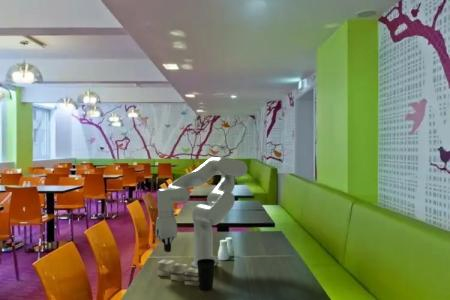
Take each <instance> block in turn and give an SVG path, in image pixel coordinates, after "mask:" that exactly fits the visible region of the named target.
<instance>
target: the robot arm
mask: <svg viewBox="0 0 450 300" xmlns="http://www.w3.org/2000/svg"><path fill="white" fill-rule="evenodd" d="M247 173H248V166H247V164H246V163H245V162H244V161H242V160H237V159H235V158H234V159H232V158H229V157H223V156H212V157H210V158H208V159H207V160H205V161H204V162H203V163H202V164H201V165H200V166H198V167H197V168H195V169H194V170H193V171H191V172H189V173H187V174H184V175H181V176H180V177H179V178H177V179H175V180H174V181H172V183H171V184H169V185H168V186H167V187H164V188H159V189H158V190H157V215H158V216H157V217H156V221H155V237H156V241H157V242H160V243H163V250H164V252H166V253H170V252H172V243H173V241H174V239H177V238H178V224H177V218H176V215H175V213H176V210H175V209H174V207H175V205H174V203H185V202H186V201H188V200H189V199H190V195H191V193H190V190H189V189H192V188H194V187H200V186H202V185H205V184H206V183H207V182H208V181H209V180H211V179H212V178H213V177H214V176H216V175H217V174H220V175H221V176H220V181H218V183H217V185H216V186H214V188H213V189H212V190H211V191H210V192H209V194H208V195H207V197H206V202H207V204H205V203H199V204H196V205H195V206H194V207H193V209H192V212H191V213H192V220H193V221H192V222H193V233H194V235H193V239H194V240H193V241H194V243H193V248H194V249H193V250H194V251H193V252H194V254H193V256H194V257H193V259H194V260H193V261H191V263H190V265H191V267H192V268H198V266H197V261H198V260H200V259H212V260H214V261H215V265H214V267H215V266H216V264H217V265H218V264H220V263H221V260H220V258H216V257H215V255H213V254H214V253H213V250H214V249H213V247H214V246H213V245H214V244H213V243H214V241H213V240H214V239H213V238H214V237H213V235H214V234H213V233H214V232H213V231H214V229H213V226H216V225H218V224H219V223H221V222H222V221H223V219H225V217H226V216H227V215H228V214H229V212H231V210H232V209H233V207H234V205H235V201H236V200H235V195H234V194H233V191H234V189H235V187H236V186H235V178H241V177H242V178H243V177H244V176H245V175H246V174H247Z"/></svg>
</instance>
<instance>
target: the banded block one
mask: <svg viewBox="0 0 450 300" xmlns="http://www.w3.org/2000/svg"><path fill="white" fill-rule="evenodd" d="M188 267H189V266H188V264H185V263H177V262H176V263H174V265H173V266H171V272H170V274H171V275H170V280H172V281H178V282H183V281H184V279H185V276H184V274H185V271H186V270H187V269H189V268H188Z"/></svg>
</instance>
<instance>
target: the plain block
mask: <svg viewBox="0 0 450 300" xmlns="http://www.w3.org/2000/svg"><path fill="white" fill-rule="evenodd" d="M174 264H175V260H172V259H164V258H163V259H161V260H159V261H158V262H157V267H156V273H157V276H162V277H171V274H170V272H171V266H173V265H174Z"/></svg>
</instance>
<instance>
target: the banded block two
mask: <svg viewBox="0 0 450 300" xmlns="http://www.w3.org/2000/svg"><path fill="white" fill-rule="evenodd" d="M184 276H185V279H184V280H183V281H184V285H185V286H186V285H189V286H195V287H198V286H199V276H198V268H195V267H189V268H188V269H187V270H186V271H185V274H184Z"/></svg>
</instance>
